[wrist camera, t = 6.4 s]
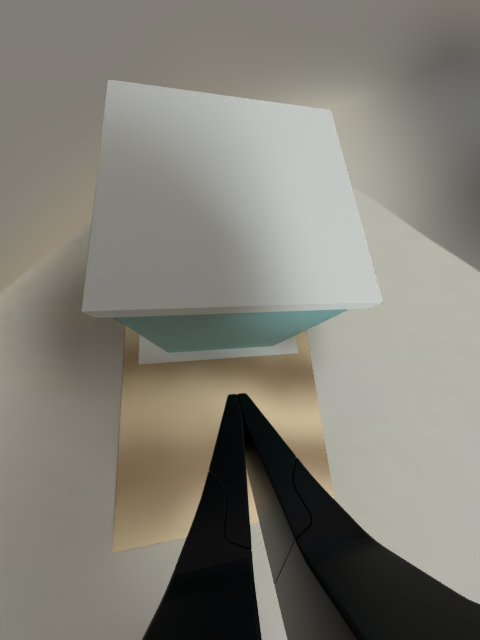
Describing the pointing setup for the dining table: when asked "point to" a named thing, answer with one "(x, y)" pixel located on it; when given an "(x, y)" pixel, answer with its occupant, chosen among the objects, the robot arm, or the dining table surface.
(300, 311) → the tin
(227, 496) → the robot arm
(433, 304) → the dining table surface
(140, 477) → the plinth board
